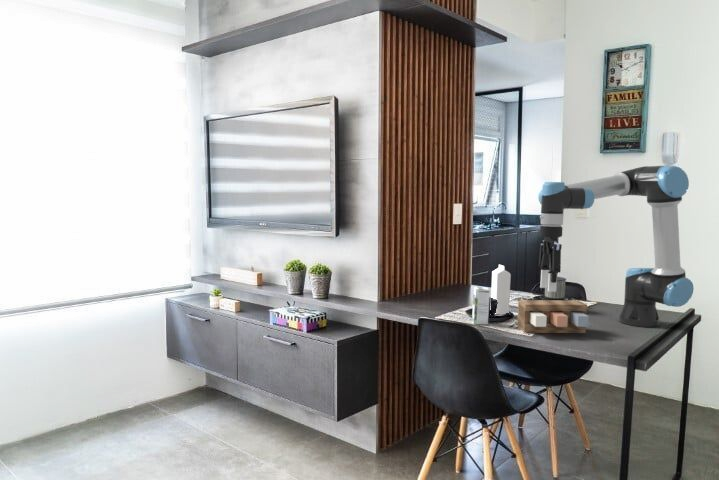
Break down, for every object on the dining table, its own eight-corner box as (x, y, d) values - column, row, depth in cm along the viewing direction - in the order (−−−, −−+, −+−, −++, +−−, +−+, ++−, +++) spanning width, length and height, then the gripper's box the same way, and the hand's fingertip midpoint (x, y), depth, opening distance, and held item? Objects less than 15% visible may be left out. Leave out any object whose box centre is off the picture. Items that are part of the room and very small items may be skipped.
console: (576, 327, 221) (577, 300, 220) (585, 332, 213) (587, 304, 212) (517, 327, 219) (518, 300, 218) (524, 332, 212) (525, 304, 210)
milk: (503, 313, 243) (505, 264, 241) (508, 317, 237) (511, 266, 235) (489, 314, 242) (492, 264, 240) (495, 317, 236) (497, 266, 234)
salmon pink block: (557, 320, 215) (557, 310, 214) (567, 326, 206) (567, 316, 206) (547, 320, 215) (547, 310, 214) (556, 326, 206) (557, 316, 205)
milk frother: (568, 311, 249) (570, 279, 247) (537, 313, 245) (539, 280, 243) (550, 305, 262) (552, 274, 261) (520, 306, 258) (522, 275, 257)
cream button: (537, 320, 214) (537, 310, 214) (546, 326, 205) (546, 316, 205) (527, 320, 214) (527, 310, 214) (535, 326, 205) (536, 316, 205)
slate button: (577, 320, 215) (578, 310, 215) (588, 326, 206) (588, 316, 206) (567, 320, 215) (568, 310, 215) (577, 326, 206) (578, 316, 206)
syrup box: (471, 321, 229) (472, 286, 227) (486, 321, 228) (487, 286, 227) (474, 324, 223) (475, 289, 222) (488, 324, 223) (490, 289, 221)
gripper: (531, 223, 206) (528, 284, 208) (551, 227, 187) (548, 294, 189) (551, 223, 206) (547, 284, 209) (573, 227, 187) (569, 295, 189)
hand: (548, 289), depth 199 cm, fingers open, 6 cm apart
